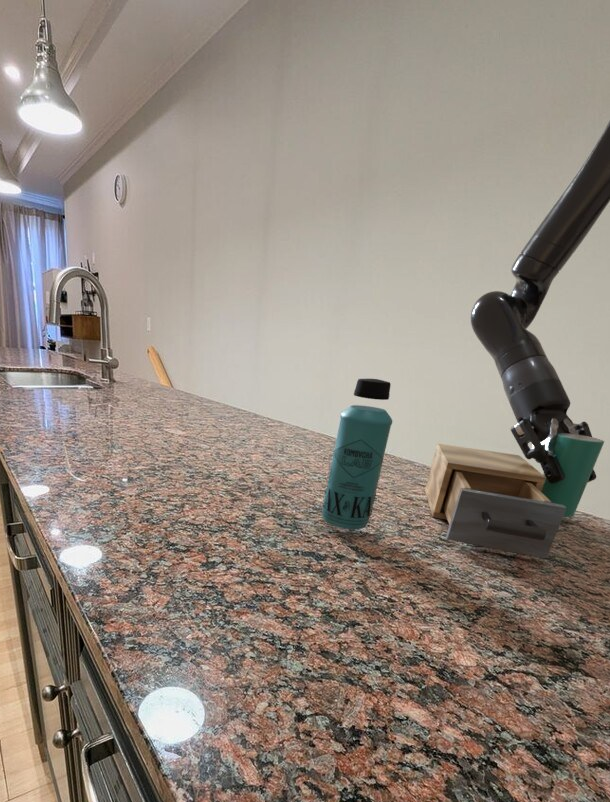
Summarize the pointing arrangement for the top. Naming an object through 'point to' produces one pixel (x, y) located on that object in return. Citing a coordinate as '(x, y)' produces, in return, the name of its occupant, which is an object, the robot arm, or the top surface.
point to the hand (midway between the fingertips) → (573, 481)
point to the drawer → (501, 513)
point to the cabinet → (477, 463)
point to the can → (572, 469)
